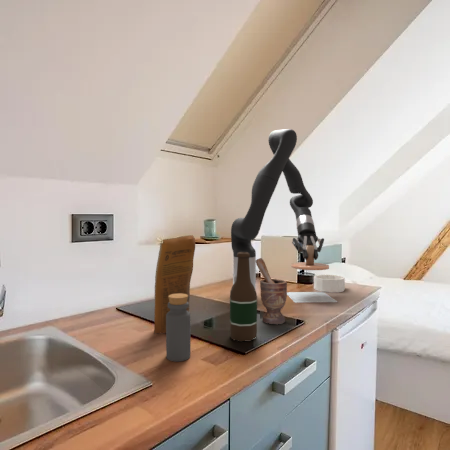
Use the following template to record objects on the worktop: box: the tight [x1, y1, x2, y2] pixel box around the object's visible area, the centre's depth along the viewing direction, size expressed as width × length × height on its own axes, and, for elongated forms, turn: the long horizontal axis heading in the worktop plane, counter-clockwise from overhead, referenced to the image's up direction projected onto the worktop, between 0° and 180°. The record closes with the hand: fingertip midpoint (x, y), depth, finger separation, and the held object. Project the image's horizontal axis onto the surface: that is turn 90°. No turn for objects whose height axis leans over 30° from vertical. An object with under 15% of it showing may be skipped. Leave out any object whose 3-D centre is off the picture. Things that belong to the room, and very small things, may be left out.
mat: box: [287, 291, 338, 304], centre depth 139 cm, size 17×17×1 cm
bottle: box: [165, 293, 191, 362], centre depth 82 cm, size 6×6×15 cm
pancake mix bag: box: [153, 234, 196, 335], centre depth 103 cm, size 7×19×28 cm, turn 148°
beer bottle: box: [229, 252, 258, 341], centre depth 94 cm, size 8×8×24 cm
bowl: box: [313, 274, 346, 293], centre depth 154 cm, size 13×13×6 cm
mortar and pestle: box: [256, 257, 288, 325], centre depth 110 cm, size 12×9×20 cm
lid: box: [290, 245, 330, 271], centre depth 139 cm, size 15×15×9 cm
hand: (311, 258), depth 137 cm, fingers closed on lid, 3 cm apart
